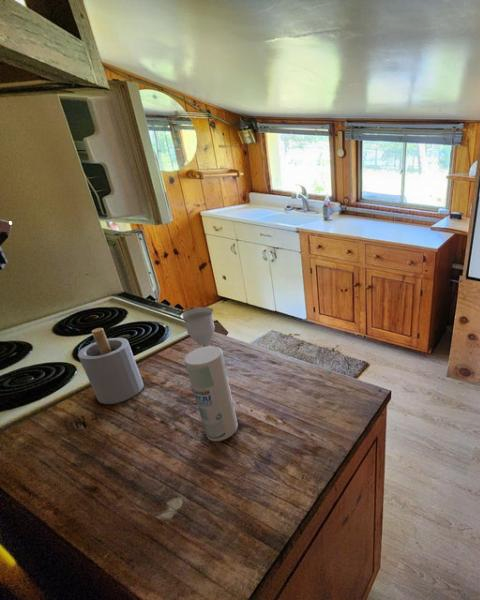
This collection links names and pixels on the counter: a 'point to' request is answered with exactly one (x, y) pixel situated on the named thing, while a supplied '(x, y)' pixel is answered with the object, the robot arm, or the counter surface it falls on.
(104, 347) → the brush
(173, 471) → the counter surface
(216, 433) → the spray can
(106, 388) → the cup
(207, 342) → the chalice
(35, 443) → the counter surface
